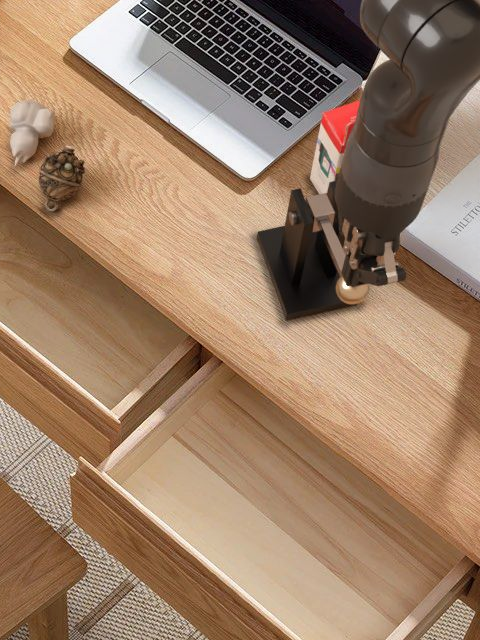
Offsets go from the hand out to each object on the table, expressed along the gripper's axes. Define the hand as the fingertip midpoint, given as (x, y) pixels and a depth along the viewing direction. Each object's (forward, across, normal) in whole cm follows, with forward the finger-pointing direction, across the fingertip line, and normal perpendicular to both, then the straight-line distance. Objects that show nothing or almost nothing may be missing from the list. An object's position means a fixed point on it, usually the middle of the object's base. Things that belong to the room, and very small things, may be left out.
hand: (353, 278), depth 119 cm
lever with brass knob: (+4, +5, 0) cm, 6 cm away
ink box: (+14, +20, -9) cm, 26 cm away
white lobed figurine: (+10, +38, +24) cm, 46 cm away
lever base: (+14, +10, 0) cm, 17 cm away
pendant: (+11, +29, +26) cm, 40 cm away
